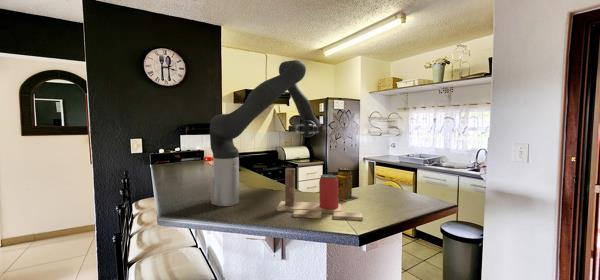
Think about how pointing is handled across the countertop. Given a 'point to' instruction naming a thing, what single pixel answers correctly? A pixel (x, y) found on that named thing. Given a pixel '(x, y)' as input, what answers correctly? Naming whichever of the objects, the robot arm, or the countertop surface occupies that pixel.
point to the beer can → (328, 191)
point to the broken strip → (336, 215)
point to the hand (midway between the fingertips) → (304, 129)
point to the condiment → (345, 184)
